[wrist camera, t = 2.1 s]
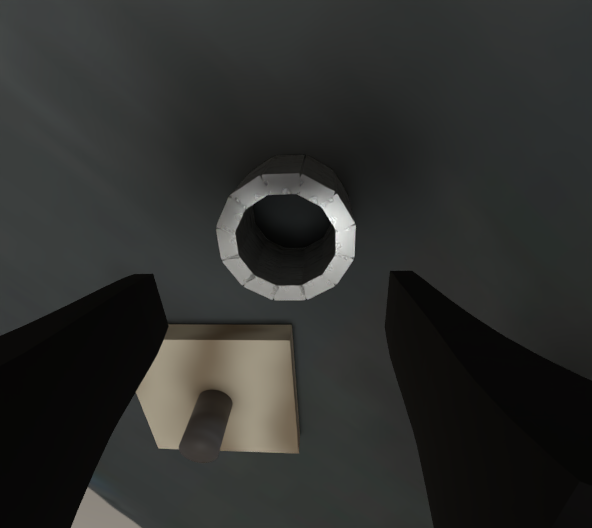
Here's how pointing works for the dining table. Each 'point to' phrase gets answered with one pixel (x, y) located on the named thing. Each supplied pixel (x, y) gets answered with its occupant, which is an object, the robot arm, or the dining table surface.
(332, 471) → the dining table surface
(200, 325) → the post stand
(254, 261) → the steel ring
